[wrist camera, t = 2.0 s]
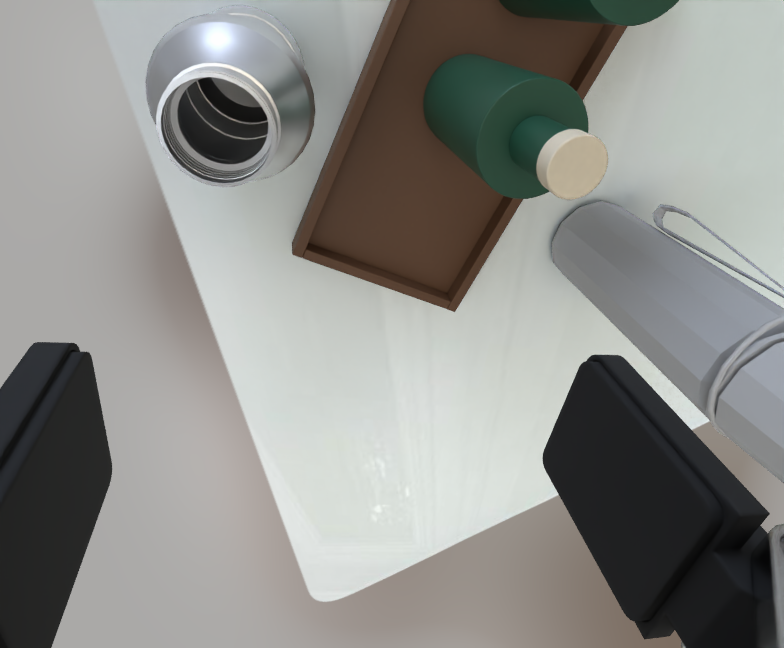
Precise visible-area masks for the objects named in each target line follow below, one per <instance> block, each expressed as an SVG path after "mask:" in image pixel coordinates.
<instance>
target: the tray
mask: <svg viewBox="0 0 784 648" xmlns="http://www.w3.org/2000/svg"><path fill="white" fill-rule="evenodd" d="M626 28H627V26H622V25H610V24H599V23H587V22H576V21H564V20H553V19H541V18H530V17H522V16H518V15H515V14H513V13H511V12H510V11H508V10H507V9H506V8H505V7H504V6H503V5H502V4H501V3H500V1H499V0H391V1H390V4H389V6H388V8H387V11H386V13H385V16H384V18H383V21H382V23H381V26H380V28H379V31H378V33H377V35H376V38H375V40H374V43H373V45H372V48H371V50H370V53H369V55H368V58H367V60H366V63H365V65H364V67H363V70H362V72H361V75H360V77H359V80H358V82H357V85H356V87H355V90H354V92H353V94H352V97H351V99H350V102H349V104H348V107H347V109H346V112H345V114H344V117H343V119H342V122H341V124H340V126H339V129H338V131H337V134H336V136H335V139H334V141H333V144H332V146H331V149H330V151H329V153H328V156H327V158H326V161H325V163H324V166H323V168H322V171H321V173H320V176H319V178H318V181H317V183H316V185H315V188H314V190H313V193H312V195H311V198H310V200H309V203H308V205H307V208H306V210H305V212H304V215H303V217H302V220H301V222H300V225H299V227H298V230H297V232H296V235H295V237H294V240H293V242H292V254H293V255H295V256H298V257H301V258H302V257H303V258H304V259H307V260H309V261H312V262H315V263H318V264H321V265H324V266H326V267H329V268H332V269H335V270H338V271H341V272H344V273H346V274H349V275H352V276H355V277H358V278H361V279H363V280H366V281H369V282H372V283H375V284H378V285H380V286H383V287H386V288H389V289H392V290H395V291H397V292H400V293H403V294H406V295H409V296H412V297H415V298H417V299H420V300H423V301H426V302H429V303H432V304H434V305H437V306H440V307H443V308H446V309H448V310H451V311H454V312H455V311H456V309H457V308H458V306H459V304H460V303H461V301H462V299H463V298H464V296H465V294H466V293H467V291H468V289H469V288H470V286H471V284H472V283H473V281H474V279H475V278H476V276H477V274H478V273H479V271H480V269H481V268H482V266H483V265H484V263H485V261H486V260H487V258H488V256H489V255H490V253H491V251H492V250H493V248H494V246H495V245H496V243H497V241H498V240H499V238H500V236H501V235H502V233H503V231H504V230H505V228H506V226H507V225H508V223H509V221H510V220H511V218H512V217H513V215H514V213H515V212H516V210H517V208H518V207H519V205H520V203H521V202H522V200H523V199H514V198H510V197H506V196H504V195H501V194H499V193H498V192H496V191H495V190H493V189H492V188H491V187H490V186H489V185H488V184H487V183H485V182H484V181H483V180H482V179H481V178H480V177H479V176H478V175H477V174H476V173H475V172H474V171H473V170H472V169H470V168H469V167H468V166H467V165H466V164H465V163H464V162H463V161H462V160H461V159H460V158H459V157H458V156H457V155H455V154H454V153H453V152H452V151H451V150H450V149H449V148H448V147H447V146H446V145H445V144H444V143H443V142H441V141H440V140H439V139H438V138H437V137H436V136H435V135H434V134H433V133H432V131H431V130H430V128H429V126H428V124H427V122H426V119H425V115H424V109H423V100H424V94H425V90H426V87H427V84H428V82H429V80H430V78H431V76H432V75H433V74H434V72H435V71H436V70H437V69H438V67H439V66H441V65H442V64H443V63H444V62H446V61H447V60H449V59H451V58H453V57H455V56H458V55H462V54H476V55H480V56H483V57H486V58H489V59H493V60H496V61H499V62H503V63H506V64H509V65H512V66H516V67H519V68H522V69H525V70H529V71H532V72H535V73H539V74H542V75H545V76H548V77H552V78H555V79H558V80H561V81H563V82H565V83H567V84H568V85H569V86H571V87H572V88H573V89H574V90H575V91H576V92H577V93H578V95H579V96H580V97H581V99H582V101H583V99H584V97H585V96H586V94H587V92H588V91H589V89H590V87H591V86H592V84H593V82H594V81H595V79H596V77H597V76H598V74H599V72H600V71H601V69H602V68H603V66H604V64H605V63H606V61H607V59H608V58H609V56H610V54H611V53H612V51H613V49H614V48H615V46H616V44H617V43H618V41H619V39H620V38H621V36H622V34H623V33H624V31H625V29H626Z"/></svg>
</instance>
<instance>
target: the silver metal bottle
mask: <svg viewBox="0 0 784 648" xmlns="http://www.w3.org/2000/svg"><path fill="white" fill-rule="evenodd" d="M146 95H147V102H148V105H149V109H150V113H151V116H152V118H153V120H154V122H155V124H156V128H157V133H158V137H159V141H160V143H161V145H162V147H163V149H164V151H165V153H166V154H167V156H168V157H169V158H170V160H171V161H172V162H173V163H174V164H175V165H176V166H177V167H178V168H179V169H180V170H181V171H182V172H184V173H185V174H187V175H188V176H189V177H191V178H193V179H195V180H197V181H199V182H201V183H205V184H208V185H211V186H219V187H233V186H238V185H242V184H245V183H247V182H251V181H256V180H260V179H264V178H268V177H271V176H273V175H275V174H277V173H279V172H281V171H283V170H284V169H285V168H287V167H288V166H289V165H291V164H292V163H293V162H294V161H295V160H296V159H297V158H298V157H299V155H300V154H301V153H302V152H303V150H304V148H305V146H306V145H307V143H308V141H309V139H310V136H311V132H312V129H313V126H314V116H315V104H314V94H313V90H312V87H311V84H310V80H309V77H308V75H307V73H306V71H305V69H304V62H303V58H302V55H301V51H300V49H299V47H298V45H297V43H296V41H295V39H294V37H293V36H292V35H291V33H290V32H289V30H288V29H287V28H286V27H285V26H284V25H283V24H282V23H281V22H280V21H279V20H278V19H276V18H275V17H273V16H272V15H270V14H269V13H267V12H265V11H262V10H260V9H258V8H254V7H249V6H245V5H232V6H228V7H223V8H220V9H218V10H216V11H214V12H212V13H210V14H205V15H200V16H196V17H192V18H189V19H187V20H185V21H183V22H181V23H179V24H178V25H176V26H175V27H173V28H172V29H171V30H170V31H169V32H168V33H166V34H165V35H164V36H163V38H162V39H161V40H160V42H159V43H158V45H157V46H156V47H155V49H154V51H153V54H152V56H151V59H150V61H149V64H148V69H147V75H146Z"/></svg>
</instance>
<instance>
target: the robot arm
mask: <svg viewBox="0 0 784 648" xmlns="http://www.w3.org/2000/svg"><path fill="white" fill-rule="evenodd" d="M543 464H544V468H545V470H546V472H547V474H548V476H549V477H550V479H551V481H552V483H553V485H554V486H555V488H556V490H557V492H558V494H559V496H560V497H561V499H562V501H563V502H564V505H565V506H566V508H567V510H568V512H569V514H570V516H571V517H572V519H573V521H574V523H575V525H576V526H577V528H578V530H579V532H580V534H581V535H582V537H583V539H584V541H585V543H586V545H587V546H588V548H589V550H590V552H591V553H592V555H593V557H594V559H595V561H596V563H597V564H598V566H599V568H600V570H601V572H602V574H603V575H604V577H605V579H606V581H607V583H608V585H609V586H610V588H611V590H612V592H613V594H614V595H615V597H616V599H617V601H618V603H619V604H620V606H621V608H622V610H623V612H624V613H625V614H626V616H627V617H628V618H629V619H630V620H632V621H635V623H636V625H637V627H638V628H639V630H640V632H641V634H642V636H643V638H644V639H650V638H659V637H666V636H670V635H671V634H672V633H673V631H674V630H675V631H676V632H677V634H678V635H679V637H680V638H681V640H682V642H681V648H784V524H781V525H776V526H775V527H774V528H772V529H771V530H770V531H769V533H768V534H767V532H766V531H765V530H764V529H763V528H762V527H761V526H760V525H761V524H762V523H763V521H764V520H765V519H766V518H767V516H768V515H769V512H768V511H767V510H766V509H765V508H764V507H763V506H762V505H761V504H760V503H759V502H758V501H757V500H756V498H755V497H754V496H753V495H752V494H751V493H750V492H749V491H748V490H747V489H746V488H745V487H744V486H743V485H742V484H741V482H740V481H739V480H738V479H737V478H736V477H735V476H734V475H733V474H732V473H731V472H730V471H729V470H728V469H727V468H726V466H725V465H724V464H723V463H722V462H721V461H720V460H719V459H718V458H717V457H716V456H715V455H714V454H713V453H712V451H710V449H709V448H708V447H707V446H706V445H705V444H704V443H703V442H702V441H701V440H700V439H699V438H698V437H697V435H696V434H695V433H693V431H692V430H691V429H690V428H689V427H688V426H687V425H686V424H685V423H684V422H683V421H682V419H681V418H680V417H679V416H678V415H677V414H676V413H675V412H674V411H673V410H672V409H671V408H670V407H669V406H668V405H667V403H666V402H665V401H664V400H663V399H662V398H661V397H660V396H659V395H658V394H657V393H656V392H655V391H654V390H653V388H652V387H651V386H650V385H649V384H648V383H647V382H646V381H645V380H644V379H643V378H642V377H641V376H640V375H639V374H638V372H637V371H636V370H635V369H634V368H633V367H632V366H631V365H630V364H629V363H628V362H627V361H626V360H625V359H624V358H623V357H621V356H618V355H592V356H591V357H589V358H588V359H587V361H586V362H583V363H582V364H581V365H580V367H579V369H578V372H577V374H576V376H575V379H574V381H573V383H572V386H571V388H570V390H569V393H568V395H567V398H566V400H565V402H564V405H563V407H562V409H561V412H560V414H559V416H558V419H557V421H556V423H555V426H554V428H553V431H552V433H551V435H550V438H549V440H548V442H547V445H546V447H545V449H544V452H543ZM111 475H112V462H111V456H110V451H109V446H108V441H107V436H106V430H105V426H104V420H103V415H102V409H101V404H100V399H99V393H98V389H97V383H96V378H95V372H94V367H93V362H92V358H91V355H90V353H88V352H80V350H79V347H78V346H77V344H75V343H50V342H37V343H34V344H33V345H32V346H31V347H30V348H29V349H28V351H27V352H26V354H25V355H24V356H23V358H22V359H21V361H20V362H19V363H18V365H17V366H16V368H15V369H14V370H13V372H12V373H11V374H10V376H9V377H8V379H7V380H6V381H5V383H4V384H3V386H2V387H1V389H0V648H51V647H52V644H53V641H54V638H55V636H56V633H57V630H58V627H59V624H60V621H61V619H62V616H63V613H64V610H65V607H66V605H67V602H68V599H69V596H70V594H71V591H72V588H73V585H74V582H75V580H76V577H77V574H78V571H79V568H80V566H81V563H82V560H83V557H84V554H85V552H86V549H87V546H88V543H89V540H90V538H91V535H92V532H93V529H94V527H95V524H96V521H97V518H98V515H99V513H100V510H101V507H102V504H103V501H104V499H105V496H106V493H107V490H108V487H109V484H110V481H111Z"/></svg>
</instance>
